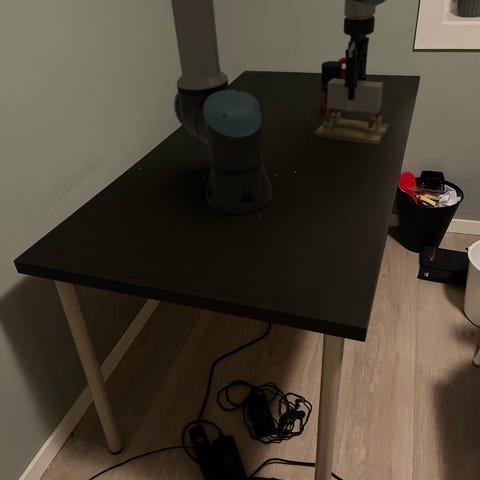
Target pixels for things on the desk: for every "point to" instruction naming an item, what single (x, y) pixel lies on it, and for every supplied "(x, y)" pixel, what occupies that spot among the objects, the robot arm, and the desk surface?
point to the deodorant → (328, 73)
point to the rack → (352, 128)
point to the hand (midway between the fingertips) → (353, 107)
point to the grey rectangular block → (366, 97)
